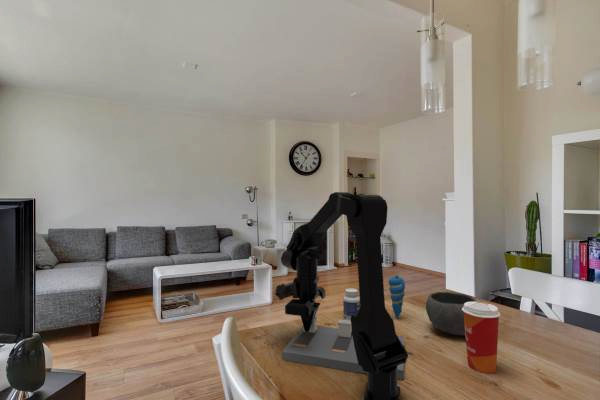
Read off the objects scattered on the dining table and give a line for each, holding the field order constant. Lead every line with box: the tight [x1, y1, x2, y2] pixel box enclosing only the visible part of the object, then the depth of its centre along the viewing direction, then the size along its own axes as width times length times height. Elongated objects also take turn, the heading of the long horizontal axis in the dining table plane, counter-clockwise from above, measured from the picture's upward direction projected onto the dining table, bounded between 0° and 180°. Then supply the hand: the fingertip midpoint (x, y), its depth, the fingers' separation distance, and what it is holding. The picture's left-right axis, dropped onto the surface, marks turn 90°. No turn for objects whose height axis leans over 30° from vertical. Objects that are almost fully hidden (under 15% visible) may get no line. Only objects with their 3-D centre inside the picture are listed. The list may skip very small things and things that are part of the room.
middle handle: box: [337, 319, 352, 338], centre depth 83 cm, size 2×3×4 cm
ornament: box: [388, 273, 406, 319], centre depth 102 cm, size 5×5×15 cm
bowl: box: [425, 291, 479, 336], centre depth 91 cm, size 15×15×10 cm
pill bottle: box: [342, 288, 360, 321], centre depth 100 cm, size 5×5×10 cm
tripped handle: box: [304, 316, 318, 333], centre depth 87 cm, size 2×3×4 cm
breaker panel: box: [281, 325, 405, 381], centre depth 79 cm, size 18×28×2 cm, turn 71°
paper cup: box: [462, 301, 501, 374], centre depth 71 cm, size 8×8×14 cm
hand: (307, 331), depth 84 cm, fingers closed
